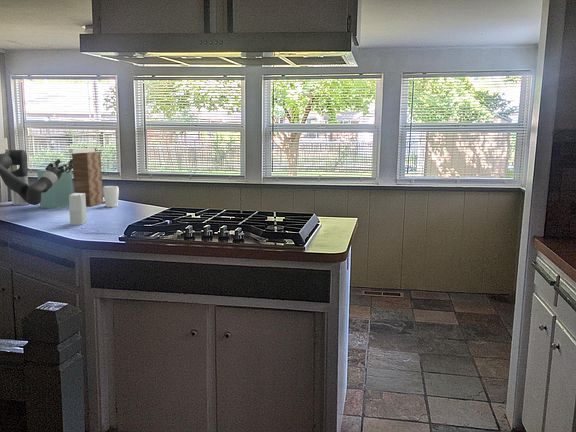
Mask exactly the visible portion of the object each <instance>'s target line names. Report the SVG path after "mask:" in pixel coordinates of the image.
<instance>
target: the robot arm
mask: <svg viewBox="0 0 576 432" xmlns="http://www.w3.org/2000/svg"><path fill="white" fill-rule="evenodd" d="M73 163H74V161H73V159H72V158H71V159H70V160H69V161H68V162H67V163H64V164H61V160H60V159H59V158H57V159H56V160H55V161H53V162H50V163H49V164H48V165H47V166H46V167H45V169H46V172H45V173H44V174H43V175H42V177H41V178H40V179H39V180H38V179H37V181H36V182H33V183H32V184H31V185H29V177H28V176H29V175H28V154H27V152H26V150H25V149H24V150H23V149H9V150H8V151H6V152H4V153H0V178H1V180H2V181H3V183H4V185H5V186H6V187H7V188H8V189H9V190H10V197H11V204H12V205H13V206H25V205H26V206H27V205H31V206H38V205H40V202H41V193H44V192H47V191H48V190H49V189H50V188H51V187H52V186H53V185H54V184H55V183H56V182H57V181H58V180H59V178H60V177H61V175H62V173H63V172H66V173H69V172H70V171H71V170H72V171H73V168H74V167H73ZM60 164H61V165H60ZM12 166H19V167H18V168H17V169H15V170H12V171H10V170H9V169H10V168H11V167H12ZM64 168H65V169H64ZM45 169H44V170H45Z"/></svg>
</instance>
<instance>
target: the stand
mask: <svg viewBox="0 0 576 432" xmlns="http://www.w3.org/2000/svg"><path fill="white" fill-rule="evenodd" d="M101 157H102V154H101V151H95V152H87V153H74V154H71V159H73V161H74V163H73V164H72V165H73V167H74V168H73V169H72V178H73V193H85V197H86V208H87V207H88V208H91V207H96V206H101V205H106V204H105V200H104V194H103V178H102V177H103V175H102V158H101Z"/></svg>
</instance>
